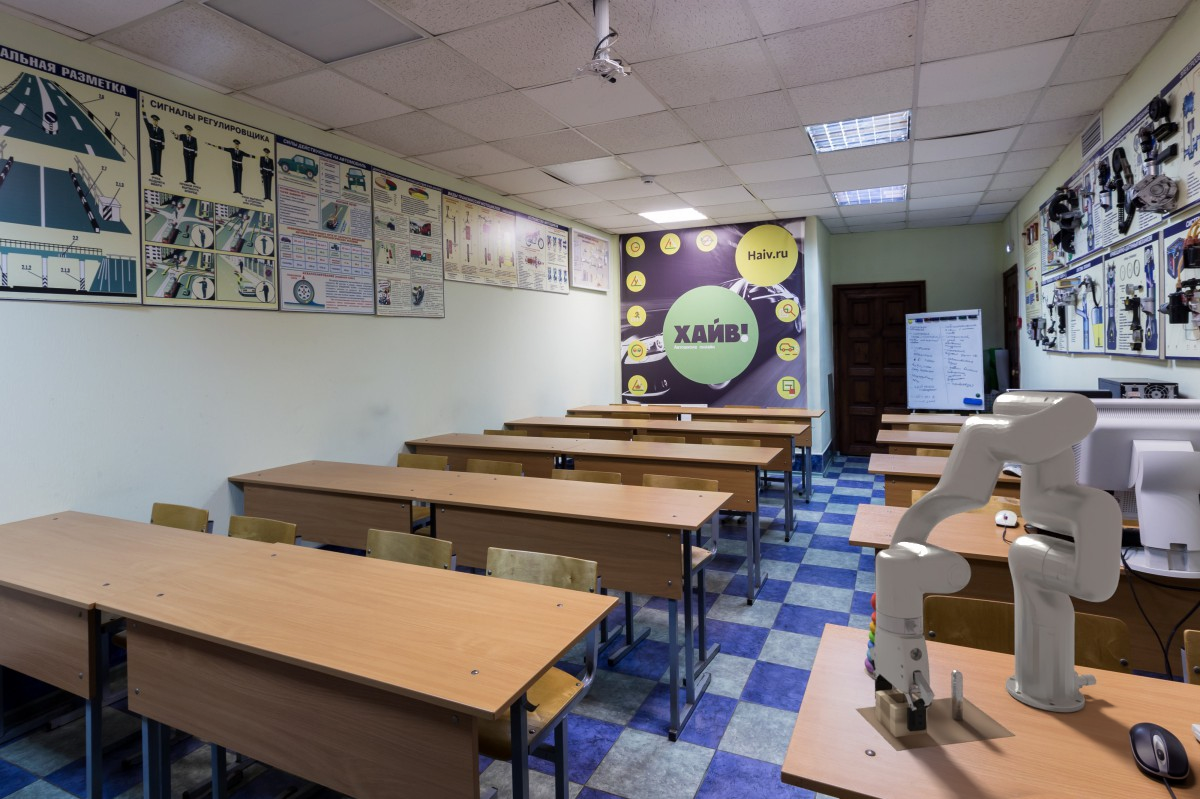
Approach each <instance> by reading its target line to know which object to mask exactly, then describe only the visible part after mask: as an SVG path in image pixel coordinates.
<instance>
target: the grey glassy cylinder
mask: <svg viewBox="0 0 1200 799" xmlns="http://www.w3.org/2000/svg"><path fill="white" fill-rule="evenodd" d="M950 675H951V676H950V678H951V679H950V680H951V681H950V683H951V684H950V685H951V686H950V689H951V690H950V691H951V695H950V696H951V697H950V698H951V703H952V719H954V720H956V721H963V697H964V692H963V691H964V690H963V689H964V686H963V685H964V680H963V679H964V678H963V673H962V672H961V671H960V670H957V669H956V670H955V669H954V670H953V671H951V673H950Z"/></svg>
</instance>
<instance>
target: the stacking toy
mask: <svg viewBox="0 0 1200 799" xmlns="http://www.w3.org/2000/svg"><path fill="white" fill-rule="evenodd" d="M870 604H871V607H872V609H873V611H874V612H872V614H871V615H870V617H871V618H870V619H871V622H870V623H869V630H870V631H869V633H868V639H869V640H868V642H867V651H866V658H865V660H864V670H863V671H864V672H865V674H866V675H867V676H868V677H870V678H872V679H874V680H875V679H877V678H874V676H873V672H874V669H873V666H872V664H871V661H872V659H871V655H870V651H869V649H870V648H874V643H875V631H876V591H875V592H874V593H873V594H872V596H871V599H870Z"/></svg>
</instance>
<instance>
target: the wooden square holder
mask: <svg viewBox="0 0 1200 799" xmlns="http://www.w3.org/2000/svg"><path fill="white" fill-rule="evenodd" d="M875 696H876V699H875V706H876V719H878V720H879V721H880V722H881V723H882V724H883V725H884V726H885V727H886V728H887V729H888V730H889V731H890V732H891V733H892V734H893V735H894V736H895V737H899V736H907V735H915V734H924V733H927V709H926V730H921V731H912V732H910V731H909V730H908V729H907V707H910V706H909V703H908V701H907V698H906V695H905V693H903V692H901V691H900V690H899V689H897V688H894V689H893V688H892V690H883V691H875V690H874V697H875ZM912 696H913V699H914V701H916V700H918V699H919V697H918V696H916V695H915V694H912Z"/></svg>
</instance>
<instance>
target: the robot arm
mask: <svg viewBox="0 0 1200 799" xmlns="http://www.w3.org/2000/svg"><path fill="white" fill-rule="evenodd" d="M1097 420H1098V409H1097V407H1096V405H1095V404H1094V402H1093V401H1092V400H1091V399H1090V398H1089V397H1087V396H1086V395H1083V394H1080V393H1075V392H1065V391H1064V392H1061V391H1060V392H1059V391H1058V392H1057V391H1036V390H1034V391H1032V390H1016V391H1014V390H1013V391H1007V392H1004V393H1001V394H1000V395H998V396H997V397H996V398H995V400H994V401H993V406H992V413H984V414H983V413H981V414H974V415H972V416H970V417H968V418H967V419H965V421H964V422H963V424H962V425H961V427H960V429H959V432H958V435H957V436H956V439H955V442H954V444H953V446H952V449H951V451H950V454H949V456H948V458H947V461H946V464H945V466H944V469H943V471H942V473H941V476H940V478H939V481H938V483H937V485H935V487H934V488H932V489H931V490H930V491H928V492H927V493H925V494H924V495H923V496H921V497H920V498H919V499H917V500H916V501H915V502H914V503H913V504H912V505H911V506H910V507H908V509H906V511H905V512H904V513H903V515H902V516H901V517H900V518H899V519H900V520H899V521H898V522H897V525H896V528H895V530H894V533H893V535H892V537H891V540H890V544H889V546H888V548H887V549H882V550H879V552H878V553H877V554H876V556H875V592H876V611H875V612H876V631H875V643H874V648H870V649H869V648H868V649H869V651H870V655H871V659H872V661H871V664H872V666H873V669H874V672H873V676H874V678H877V679H874V678H873V679H874V692H875V691H883V690H892V689H893V687H895V689H899V690H900V691H901V692H903V693H905V695H906V698H907V701H908V703H909V706H910V707H907V729H908V730H909V731H910V732H912V731H921V730H926V709H928V708H929V706H931V702H932V700H934V697H935V693H934V691H933V689H932V688H931V686H930V685H931V684H930V683H931V682H930V681H931V678H930V664H929V653H928V646H927V643H926V638H925V635H923V633H924V626H923V625H924V623H923V622H924V620H923V619H924V614H923V613H924V612H923V610H924V608H923V606H924V605H923V602H924V601H923V598H924V597H923V595H924V594H926V593H927V594H952V593H956V592H959V591H961V590H962V589H964V588H965V587H966V586H967V585H968V584H969V582H970V581H971V580H970V579H971V576H972V570H971V567H970V564H969V563H968V561H967V560H966V559H965V558H964V556H962V555H960V554H959V553H957V552H955V551H952V550H950V549H947V548H944V547H941V546H938V545H935V544H932V543H929V542H927V540H928V538H929V536H930V534H931V532H932V531H933V529H934V528H935V527H936V526H937V525H938V524H939V523H941V522H943V521H944V520H945V519H947V518H950V517H953V516H955V515H959V514H962V513H966V512H970V511H973V510H974V511H975V510H977V509H981V508H984V507H986V506H988V504H989V502H990V500H991V497H992V494H994V490H995V488H996V485H997V482H998V479H999V477H1000V475H1001V472H1002V470H1003V467H1004V466H1005V463H1008V464H1014V465H1021V472H1020V490H1019V491H1020V494H1019V495H1020V497H1019V511H1020V515H1021V518H1022V519H1023V521H1024V522H1026V523H1027V524H1029V525H1030V526H1033V527H1035V528H1039V529H1041V530H1045V531H1049V532H1053V533H1057V534H1061V535H1065V536H1068V537H1069V536H1070V537H1072V538H1073V541H1074V542H1071V541H1068V540H1065V539H1062V538H1058V537H1057V538H1056V537H1053V536H1049V535H1046V534H1037V533H1025V534H1023V535H1020V536H1018V537H1016V538H1015V539H1014V540H1013V541H1012V542H1011V544H1010V545H1009V549H1008V554H1007V559H1008V567H1009V570H1010V571H1009V572H1010V574H1011V580H1012V584H1013V585H1012V586H1013V594H1014V675H1011V676H1009V677H1007V679H1006V680H1005V689H1006V690H1007V692H1008V694H1009V695H1011V697H1013V698H1015V699H1016V700H1017V701H1020V702H1021V703H1023V704H1026V705H1028V706H1030V707H1034V708H1036V709H1039V710H1040V709H1041V710H1043V711H1049V712H1055V713H1073V712H1078V711H1081V710H1082V709H1083V708H1084V707H1085V700H1086V699H1085V696H1084V694H1082V692H1081V691H1080V689H1082V688H1083V687H1084V686H1085V687H1086V686H1094V685H1097V679H1096V677H1095V676H1094V675H1093V674H1090V673H1088V674H1081V675H1079V673H1078V672H1077V671H1076V670H1075V623H1076V621H1075V619H1076V618H1075V615H1076V614H1075V610H1074V609H1075V608H1074V606H1073V603H1072V600H1071V598H1070V596H1071V597H1074V598H1077V599H1081V600H1084V601H1088V602H1093V603H1101V602H1105V601H1107V600H1109V599H1111V597H1112V596H1113V595H1114V594H1115V592H1116V590H1117V587H1118V585H1119V580H1120V573H1121V560H1122V557H1121V556H1122V555H1121V554H1122V541H1123V540H1122V539H1123V514H1122V510H1121V507H1120V504H1119V502H1118V501H1117V500H1116V498H1115V497H1114V496H1113V495H1112V494H1110V493H1109V492H1107V491H1105V490H1103V489H1100V488H1097V487H1091V486H1086V485H1082V484H1081V485H1080V484H1078V483H1077V480H1076V479H1077V478H1076V454H1075V451H1074V449H1073V447H1074V446H1075V445H1076V444H1078V443H1080V442H1082V441H1083V440H1084V439H1086V438H1087V437H1088V436H1089V435H1090V434H1091V433H1092V432H1093V430H1094V429H1095V426H1096V425H1097ZM912 687H915V688H912ZM912 694H914V695H915V694H916V695H917V698H919V699H918V700H916V701H914V699H913V696H912ZM874 700H876V696H875V695H874Z"/></svg>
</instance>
